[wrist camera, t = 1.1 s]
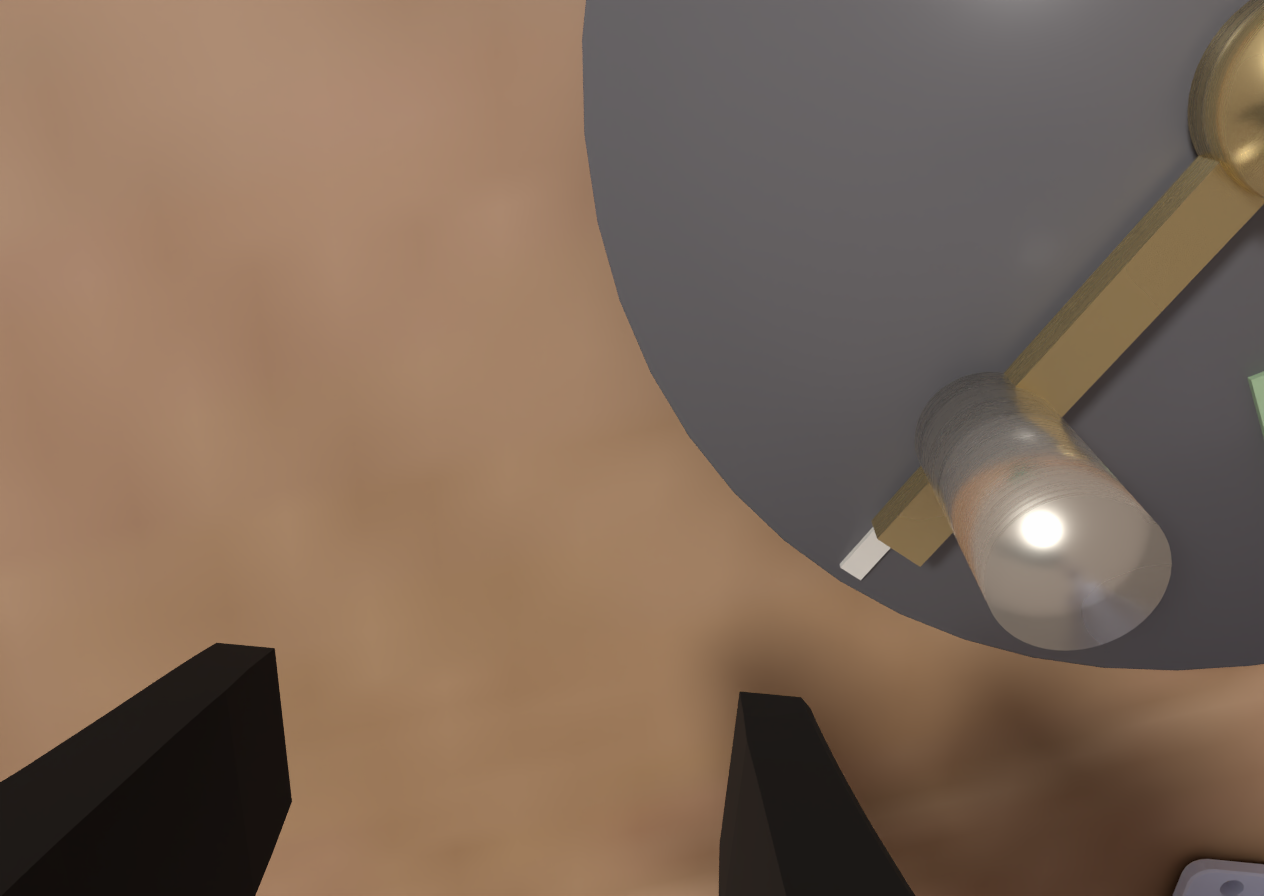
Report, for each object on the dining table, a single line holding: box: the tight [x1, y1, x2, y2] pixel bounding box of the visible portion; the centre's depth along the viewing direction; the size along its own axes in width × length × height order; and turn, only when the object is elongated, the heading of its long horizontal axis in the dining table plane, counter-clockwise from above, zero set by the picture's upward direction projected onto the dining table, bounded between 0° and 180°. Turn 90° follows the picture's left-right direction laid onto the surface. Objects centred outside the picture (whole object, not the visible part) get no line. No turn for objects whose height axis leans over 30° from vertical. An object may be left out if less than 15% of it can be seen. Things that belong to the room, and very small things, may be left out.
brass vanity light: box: [871, 0, 1264, 651], centre depth 14 cm, size 11×3×5 cm, turn 147°
